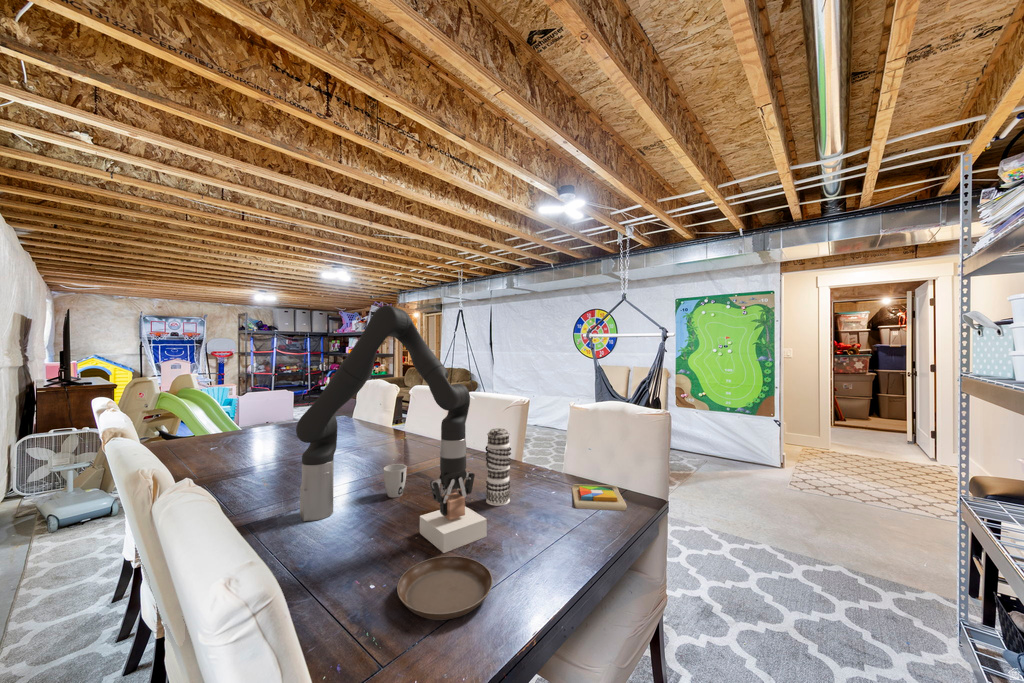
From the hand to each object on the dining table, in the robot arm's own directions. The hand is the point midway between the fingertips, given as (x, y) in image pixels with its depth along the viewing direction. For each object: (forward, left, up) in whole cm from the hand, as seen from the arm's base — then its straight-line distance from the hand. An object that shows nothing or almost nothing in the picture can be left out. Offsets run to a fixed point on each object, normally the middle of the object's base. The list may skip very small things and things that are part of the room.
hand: (452, 511), depth 112 cm
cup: (-1, +39, -7) cm, 40 cm away
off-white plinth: (0, 0, -7) cm, 7 cm away
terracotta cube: (0, 0, -1) cm, 1 cm away
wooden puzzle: (+54, -10, -7) cm, 55 cm away
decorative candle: (+25, +11, -7) cm, 28 cm away
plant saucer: (-15, -22, -7) cm, 28 cm away
